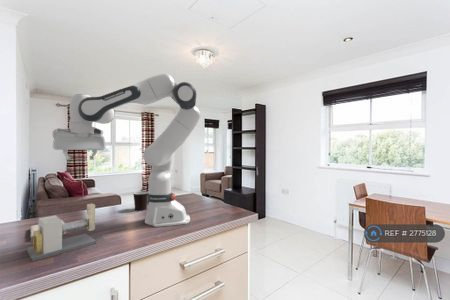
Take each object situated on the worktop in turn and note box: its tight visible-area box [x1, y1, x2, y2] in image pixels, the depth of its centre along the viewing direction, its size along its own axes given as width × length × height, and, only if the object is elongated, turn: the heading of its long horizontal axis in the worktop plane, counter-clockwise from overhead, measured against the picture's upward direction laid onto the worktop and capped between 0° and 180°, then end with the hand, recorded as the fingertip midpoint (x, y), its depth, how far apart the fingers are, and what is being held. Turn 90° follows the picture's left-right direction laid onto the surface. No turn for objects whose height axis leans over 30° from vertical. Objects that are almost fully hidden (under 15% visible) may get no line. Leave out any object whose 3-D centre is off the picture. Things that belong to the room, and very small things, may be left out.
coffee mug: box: [133, 191, 149, 212], centre depth 131 cm, size 12×9×10 cm
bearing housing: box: [26, 215, 97, 262], centre depth 81 cm, size 18×11×11 cm, turn 139°
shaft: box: [62, 203, 96, 233], centre depth 83 cm, size 15×3×10 cm, turn 139°
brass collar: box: [32, 230, 43, 254], centre depth 76 cm, size 2×6×6 cm, turn 50°
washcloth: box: [29, 219, 67, 243], centre depth 95 cm, size 12×18×3 cm, turn 43°
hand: (80, 159), depth 101 cm, fingers open, 8 cm apart
